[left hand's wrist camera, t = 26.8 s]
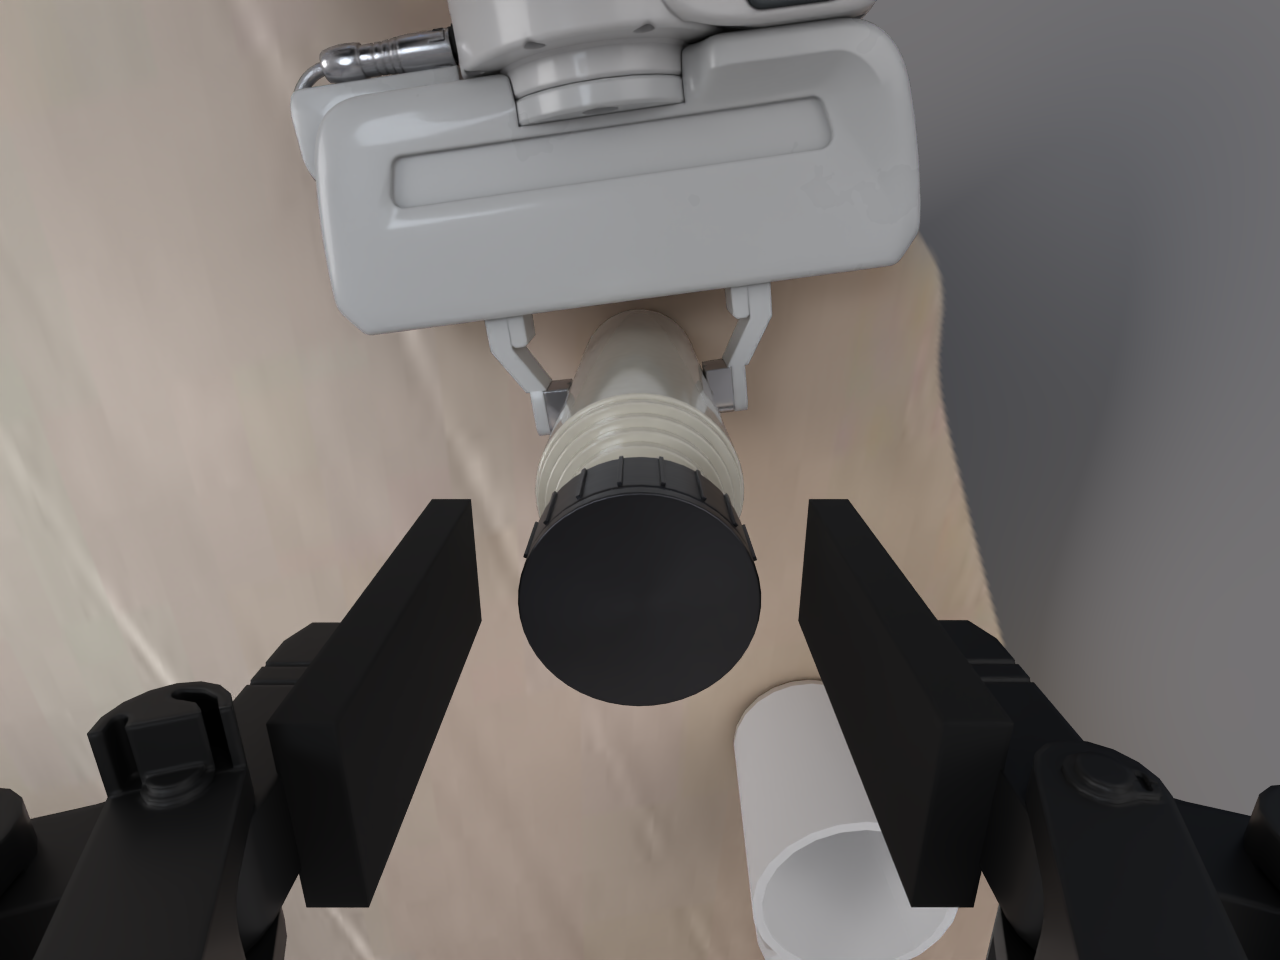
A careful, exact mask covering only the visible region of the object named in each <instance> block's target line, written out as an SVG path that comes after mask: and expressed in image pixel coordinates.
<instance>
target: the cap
mask: <svg viewBox="0 0 1280 960" xmlns="http://www.w3.org/2000/svg"><path fill="white" fill-rule="evenodd" d="M523 557H524V558H527V559H526V562H525V565H524V568H523V571H522V574H521V578H520V584H519V589H518V607H519V615H520V620H521V623H522V627H523V630H524V633H525V635H526V637H527V640H528V642H529V644H530V646H531V647H532V649H533V651H534V652H535V654H536V656H537V657H538V658H539V659H540V661H541V662H542V663H543V664H544V665H545V667H546V668H547V669H548V670H549V671H551V672H552V673H553V674H554V675H555V676H556V677H557V678H558V679H560V680H561V681H563V682H564V683H565V684H567V685H568V686H570V687H572V688H573V689H575V690H577V691H579V692H580V693H583V694H585V695H587V696H590V697H592V698H595V699H598V700H602V701H605V702H608V703H614V704H620V705H629V706H652V705H659V704H666V703H670V702H674V701H678V700H682V699H684V698H687V697H689V696H692V695H694V694H697V693H699V692H700V691H702V690H704V689H706V688H708V687H710V686H711V685H712V684H714V683H715V682H717V681H718V680H720V679H721V678H722V677H723V676H724V675H725V674H727V673H728V672H729V671H730V670H731V669H732V668H733V667H734V666H735V664H736V663H737V662H738V661H739V660H740V659H741V657H742V656H743V654H744V653H745V651H746V650H747V648H748V646H749V644H750V642H751V640H752V638H753V636H754V634H755V631H756V627H757V624H758V621H759V615H760V609H761V589H760V582H759V577H758V573H757V570H756V567H755V563H754V561H756V560H757V559H756V556H755V553H754V550H753V547H752V544H751V541H750V538H749V535H748V532H747V529H746V527H745V524H744V525H742V524H741V522H740V519H739V517H738V515H737V513H736V511H735V509H734V508H733V506H732V504H731V501H730V498H729V495H728V494H727V493H726V494H723V493H722V492H721V490H720V489H719V488H718V487H716V486H715V485H714V484H713V483H712V482H711V481H710V480H708V479H707V478H705V477H704V476H702V475H701V472H700V471H699V470H698V469H697V470H696V471H694V470H692V469H690V468H688V467H686V466H684V465H681V464H678V463H675V462H672V461H668V460H664V458H663V457H661V456H659V458H650V457H628V458H624V457H623V456H619V459H615V460H611V461H608V462H604V463H601V464H598V465H596V466H594V467H591V468H589V469H586V468H584V469H582V471H581V473H580V474H578V475H577V476H575V477H574V478H572V479H571V480H570V481H569V482H567V483H566V484H565V485H564V486H563V487H562V488H561V489H560V490H559V491H558V492H556V491H554V492H553V493H552V496H551V499H550V502H549V503H548V505H547V506H546V508H545V510H544V512H543V514H542V516H541V518H540V520H539V523H538V522H535V524H534V527H533V530H532V533H531V536H530V539H529V542H528V545H527V548H526V551H525V553H524V556H523Z"/></svg>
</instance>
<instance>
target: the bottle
mask: <svg viewBox="0 0 1280 960" xmlns="http://www.w3.org/2000/svg"><path fill="white" fill-rule="evenodd" d="M619 456H623V457H624V458H628V457H650V458H659V456H661V457H663V458H664V460H668V461H672V462H675V463H678V464H681V465H684V466H686V467H688V468H690V469H692V470H694V471H696V470H697V469H698V470H699V471H700V472H701V475H702V476H704V477H705V478H707V479H708V480H710V481H711V482H712V483H713V484H714V485H715V486H716V487H718V488H719V489H720V490H721V492H722V493H723V494H726V493H727V494H728V495H729V498H730V501H731V504H732V506H733V508H734V509H735V511H736V513H737V515H738V517H739V518H740V515H741V512H742V506H743V501H744V481H743V473H742V469H741V465H740V461H739V459H738V456H737V454H736V451H735V449H734V447H733V444H732V442H731V439H730V437H729V434H728V432H727V430H726V427H725V425H724V422H723V420H722V417H721V415H720V413H719V410H718V408H717V405H716V403H715V400H714V398H713V395H712V393H711V391H710V388H709V386H708V383H707V381H706V378H705V376H704V374H703V371H702V369H701V366H700V364H699V361H698V359H697V357H696V354H695V352H694V349H693V347H692V344H691V342H690V340H689V338H688V336H687V335H686V333H685V332H684V331H683V329H682V328H681V327H680V326H679V325H678V324H677V323H676V322H674V321H673V320H672V319H670V318H669V317H667V316H665V315H663V314H660V313H658V312H654V311H651V310H643V309H641V310H629V311H625V312H622V313H619V314H617V315H614V316H612V317H611V318H609V319H608V320H606V321H605V322H604V323H603V324H601V325H600V327H599V328H598V329H597V330H596V331H595V332H594V334H593V335H592V337H591V339H590V341H589V343H588V345H587V348H586V350H585V352H584V355H583V357H582V360H581V362H580V364H579V367H578V369H577V372H576V374H575V377H574V379H573V381H572V384H571V386H570V389H569V391H568V394H567V396H566V398H565V401H564V403H563V406H562V408H561V411H560V413H559V415H558V418H557V420H556V423H555V425H554V427H553V430H552V432H551V435H550V437H549V440H548V442H547V444H546V447H545V449H544V452H543V454H542V457H541V460H540V463H539V466H538V470H537V475H536V485H535V496H536V505H537V510H538V514H539V518H541V516H542V514H543V512H544V510H545V508H546V506H547V505H548V503H549V502H550V499H551V496H552V493H553V492H554V491H556V492H558V491H559V490H560V489H561V488H562V487H563V486H564V485H565V484H566V483H567V482H569V481H570V480H571V479H572V478H574V477H575V476H577V475H578V474H580V473H581V471H582V469H584V468H586V469H589V468H591V467H594V466H596V465H598V464H601V463H604V462H608V461H611V460H615V459H619Z"/></svg>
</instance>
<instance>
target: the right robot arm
mask: <svg viewBox="0 0 1280 960" xmlns="http://www.w3.org/2000/svg"><path fill="white" fill-rule="evenodd" d="M447 2H448V7H449V13H450V15H451V20H452V23H451V27H447V28H438V29H433V30H429V31H423V32H416V33H410V34H405V35H401V36H398V37H394V38H391V39H389V40H388V39H387V40H384V41H382V42H375V43H374V44H373V43H369V44H364V45H361V44H360V43H355V42H353V43H344V44H338V45H335V46H332V47H329V48H327V49H325V50H323V51H321V53H320V62H319V63H316V64H315V65H313V66H312V67H310V68H309V69H307V70H306V71H305V72H304V73H303V75H302V76H301V77H300V79H299V81H298V83H297V84H296V87H295V89H294V92H293V94H292V96H291V102H290V109H291V117H292V121H293V124H294V128H295V132H296V136H297V139H298V143H299V147H300V151H301V154H302V158H303V160H304V163H305V165H306V167H307V169H308V171H309V173H310V174H311V176H312V177H313V179H314V180H315V181H316V188H317V199H318V208H319V217H320V224H321V231H322V238H323V245H324V251H325V256H326V262H327V267H328V272H329V277H330V282H331V286H332V291H333V295H334V299H335V302H336V305H337V308H338V309H339V311H340V312H341V314H342V315H343V316H344V317H346V318H347V319H348V320H349V321H350V322H351V323H352V324H353V325H355V326H356V327H357V328H358V329H359V330H361V331H362V332H363V333H364V334H367V335H378V334H386V333H393V332H401V331H408V330H416V329H423V328H431V327H438V326H446V325H453V324H460V323H468V322H475V321H483V320H484V321H485V325H486V330H487V335H488V340H489V345H490V350H491V353H492V354H493V355H494V356H495V357H496V358H497V360H498V361H499V362H500V363H501V364H502V365H503V367H504V368H505V369H506V370H507V371H508V372H509V374H510V375H511V376H512V377H513V378H514V379H515V380H516V382H517V383H518V384H519V385H520V386H521V387H522V389H523V390H524V391H525V392H526V393H530V397H531V402H532V407H533V413H534V418H535V423H536V428H537V432H538V434H539V435H540V436H541V435H551V432H552V430H553V427H554V425H555V423H556V420H557V418H558V415H559V413H560V411H561V408H562V406H563V403H564V401H565V398H566V396H567V394H568V391H569V389H570V386H571V384H572V381H573V379H564V380H554V381H552V379H551V378H550V376H549V375H548V374H547V373H546V371H545V370H544V369H543V367H542V366H541V365H540V364H539V362H538V361H537V360H536V359H535V357H534V356H533V355H532V353H531V352H530V351H529V350H528V348H527V347H526V345H527V344H528V343H529V342H530V341H531V340H532V338H533V337H534V336H535V335H536V334H535V329H534V323H533V317H532V314H535V313H542V312H550V311H557V310H565V309H572V308H580V307H587V306H595V305H602V304H610V303H617V302H625V301H632V300H639V299H647V298H654V297H662V296H669V295H677V294H684V293H692V292H699V291H707V290H714V289H722V288H725V296H726V306H727V310H728V311H729V312H730V313H731V314H732V315H733V316H734V317H735V318H737V319H739V320H738V322H737V325H736V327H735V329H734V331H733V334H732V336H731V338H730V340H729V343H728V345H727V347H726V350H725V352H724V354H723V356H722V358H723V359H717V360H710V361H704V362H702V369H703V374H704V376H705V378H706V381H707V383H708V386H709V388H710V391H711V393H712V395H713V398H714V400H715V403H716V405H717V408H718V410H719V413H724V412H733V411H741V410H747V408H748V398H747V385H746V373H745V365H748V364H749V362H750V360H751V358H752V356H753V354H754V352H755V350H756V348H757V345H758V343H759V341H760V339H761V337H762V335H763V333H764V331H765V329H766V327H767V325H768V323H769V321H770V319H771V317H772V303H771V286H770V282H774V281H781V280H789V279H796V278H804V277H811V276H818V275H826V274H833V273H841V272H848V271H856V270H863V269H871V268H878V267H885V266H891V265H894V264H896V263H897V262H898V261H899V260H900V259H901V258H902V256H903V255H904V254H905V252H906V251H907V249H908V248H909V246H910V245H911V243H912V242H913V240H914V238H915V237H916V235H917V233H918V230H919V226H920V211H921V193H920V167H919V153H918V141H917V131H916V121H915V114H914V107H913V99H912V92H911V86H910V81H909V76H908V72H907V68H906V65H905V62H904V60H903V57H902V54H901V53H900V51H899V49H898V47H897V45H896V44H895V42H894V41H893V39H892V38H891V37H890V36H889V35H888V34H887V33H886V32H885V31H884V30H883V29H881V28H880V27H879V26H877V25H875V24H873V23H871V22H869V21H866V20H862V18H863V17H864V16H865V15H866V14H867V12H868V11H869V10H870V9H871V8H872V6H873V5H874V3H875V2H876V0H447ZM382 75H383V77H380V76H382ZM385 75H390V76H385ZM324 76H325V77H326V79H327V80H328V81H329V82H330V83H335V84H330V85H323V86H317V87H312V86H313V85H314V84H315V83H316V82H317V81H318V80H319V79H321V78H322V77H324ZM373 77H376V78H373Z"/></svg>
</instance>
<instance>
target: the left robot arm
mask: <svg viewBox="0 0 1280 960" xmlns="http://www.w3.org/2000/svg"><path fill="white" fill-rule="evenodd" d="M481 621H482V619H481V608H480V597H479V585H478V574H477V563H476V551H475V540H474V529H473V518H472V506H471V499H432V500H431V501H430V503H429V504H428V505H427V507H426V508H425V509H424V511H423V512H422V514H421V515H420V516H419V518H418V519H417V520H416V522H415V523H414V524H413V526H412V527H411V528H410V530H409V531H408V532H407V534H406V535H405V536H404V538H403V539H402V541H401V542H400V543H399V545H398V546H397V547H396V549H395V550H394V551H393V553H392V554H391V555H390V557H389V558H388V559H387V561H386V562H385V563H384V565H383V566H382V568H381V569H380V570H379V572H378V573H377V574H376V576H375V577H374V578H373V580H372V581H371V582H370V584H369V585H368V586H367V588H366V589H365V590H364V592H363V593H362V595H361V596H360V597H359V599H358V600H357V601H356V603H355V604H354V605H353V607H352V608H351V609H350V611H349V612H348V613H347V615H346V616H345V617H344V619H343V620H342V622H341V623H311V624H310V625H308V626H306V627H305V628H303V629H302V630H300V631H299V632H297V633H295V634H294V635H292V636H291V637H289V638H288V639H286V640H285V641H283V643H282V644H281V645H280V646H279V647H278V649H277V650H276V651H275V652H274V653H273V654H272V656H271V657H270V658H269V659H268V660H267V662H266V666H265V667H261V669H260V670H259V671H258V672H257V673H256V675H255V676H254V677H253V678H252V679H251V683H250V685H246V686H245V688H244V689H243V690H242V691H241V692H240V694H239V695H238V696H237V697H236V698H235V700H234V701H232V697H231V693H230V692H228V691H227V690H226V689H224V688H223V687H222V686H221V685H218V684H212V683H207V682H202V681H200V682H187V683H176V684H173V685H169V686H165V687H161V688H157V689H154V690H150V691H148V692H145V693H143V694H141V695H139V696H136V697H134V698H132V699H130V700H127V701H125V702H123V703H122V704H120V705H119V706H117V707H116V708H114V709H113V710H111V711H110V712H108V713H107V714H105V715H104V716H102V717H101V718H100V719H99V720H98V722H97V723H96V724H95V725H94V726H93V727H92V729H91V730H90V731H89V732H88V733H87V736H88V739H89V742H90V745H91V748H92V751H93V754H94V757H95V760H96V763H97V766H98V769H99V772H100V775H101V778H102V781H103V784H104V787H105V790H106V793H107V796H108V798H107V800H106V802H103V803H99V804H96V805H91V806H87V807H82V808H78V809H73V810H69V811H65V812H60V813H56V814H51V815H47V816H42V817H38V818H33V819H30V817H29V815H28V812H27V810H26V807H25V804H24V802H23V799H22V797H20V796H19V795H18V794H16V793H15V792H14V791H12V790H11V789H5V788H0V960H284V955H285V947H286V939H287V934H286V926H285V919H284V915H283V911H282V905H283V903H284V901H285V899H286V897H287V895H288V893H289V891H290V889H291V887H292V886H293V884H294V882H295V880H296V878H297V876H298V874H299V876H300V880H301V885H302V889H303V894H304V898H305V903H306V907H369V906H370V903H371V901H372V898H373V895H374V893H375V890H376V888H377V885H378V883H379V880H380V878H381V875H382V873H383V870H384V868H385V865H386V862H387V860H388V857H389V855H390V852H391V850H392V847H393V845H394V842H395V840H396V837H397V834H398V832H399V829H400V827H401V824H402V822H403V819H404V817H405V814H406V812H407V809H408V807H409V804H410V801H411V799H412V796H413V794H414V791H415V789H416V786H417V784H418V781H419V779H420V776H421V774H422V771H423V768H424V766H425V763H426V761H427V758H428V756H429V753H430V751H431V748H432V746H433V743H434V741H435V738H436V735H437V733H438V730H439V728H440V725H441V723H442V720H443V718H444V715H445V713H446V710H447V708H448V705H449V702H450V700H451V697H452V695H453V692H454V690H455V687H456V685H457V682H458V680H459V677H460V674H461V672H462V669H463V667H464V664H465V662H466V659H467V657H468V654H469V652H470V649H471V647H472V644H473V641H474V639H475V636H476V634H477V631H478V629H479V626H480V624H481ZM798 621H799V624H800V626H801V629H802V631H803V634H804V636H805V639H806V641H807V644H808V647H809V649H810V652H811V654H812V657H813V659H814V662H815V664H816V667H817V669H818V672H819V674H820V677H821V680H822V682H823V685H824V687H825V690H826V692H827V695H828V697H829V700H830V702H831V705H832V708H833V710H834V713H835V715H836V718H837V720H838V723H839V725H840V728H841V730H842V733H843V735H844V738H845V741H846V743H847V746H848V748H849V751H850V753H851V756H852V758H853V761H854V763H855V766H856V768H857V771H858V774H859V776H860V779H861V781H862V784H863V786H864V789H865V791H866V794H867V796H868V799H869V801H870V804H871V807H872V809H873V812H874V814H875V817H876V819H877V822H878V824H879V827H880V829H881V832H882V834H883V837H884V840H885V842H886V845H887V847H888V850H889V852H890V855H891V857H892V860H893V862H894V865H895V868H896V870H897V873H898V875H899V878H900V880H901V883H902V885H903V888H904V890H905V893H906V895H907V898H908V901H909V903H910V906H911V907H974V903H975V898H976V894H977V889H978V885H979V880H980V876H981V871H982V872H983V874H984V876H985V878H986V880H987V882H988V884H989V886H990V888H991V889H992V891H993V893H994V895H995V897H996V899H997V901H998V903H999V906H998V911H997V915H996V919H995V923H994V927H993V932H992V936H991V940H990V944H989V948H988V953H987V957H986V960H1280V785H1274V786H1270V787H1269V788H1267V789H1266V790H1265V791H1263V792H1262V793H1260V794H1259V797H1258V799H1257V802H1256V804H1255V807H1254V810H1253V812H1252V815H1251V816H1248V815H1244V814H1239V813H1235V812H1230V811H1225V810H1221V809H1217V808H1212V807H1207V806H1203V805H1198V804H1194V803H1190V802H1185V801H1181V800H1178V799H1175V798H1173V796H1172V795H1171V794H1170V792H1169V791H1168V790H1167V788H1166V787H1165V786H1164V784H1163V783H1162V781H1161V780H1160V779H1159V778H1158V777H1157V776H1156V775H1154V774H1153V773H1152V772H1150V771H1149V770H1148V769H1147V768H1145V767H1144V766H1143V765H1141V764H1140V763H1139V762H1137V761H1135V760H1133V759H1131V758H1129V757H1127V756H1125V755H1123V754H1121V753H1119V752H1118V751H1116V750H1113V749H1110V748H1107V747H1104V746H1100V745H1097V744H1094V743H1091V742H1086V741H1083V740H1082V739H1081V737H1080V736H1079V735H1078V734H1077V733H1076V732H1075V730H1074V729H1073V728H1072V727H1071V726H1070V724H1069V723H1068V722H1067V721H1066V720H1065V719H1064V717H1063V716H1062V715H1061V714H1060V713H1059V712H1058V710H1057V709H1056V708H1055V707H1054V706H1053V704H1052V703H1051V702H1050V701H1049V700H1048V699H1047V697H1046V696H1045V695H1044V694H1043V693H1042V691H1041V690H1040V689H1039V688H1038V687H1037V686H1036V684H1035V683H1033V682H1030V677H1029V676H1028V675H1027V674H1026V673H1025V671H1024V670H1023V669H1022V668H1021V667H1020V666H1019V665H1018V664H1015V660H1014V659H1013V657H1012V656H1011V655H1010V654H1009V653H1008V651H1007V650H1006V649H1005V648H1004V647H1003V646H1002V644H1001V643H1000V642H999V641H998V640H997V639H996V638H995V637H993V636H992V635H990V634H989V633H987V632H985V631H984V630H982V629H981V628H979V627H978V626H976V625H975V624H973V623H971V622H970V621H968V620H937V619H936V617H935V616H934V615H933V613H932V612H931V611H930V609H929V608H928V607H927V605H926V604H925V603H924V601H923V600H922V599H921V597H920V596H919V595H918V593H917V592H916V590H915V589H914V588H913V586H912V585H911V584H910V582H909V581H908V580H907V578H906V577H905V576H904V574H903V573H902V572H901V570H900V569H899V568H898V566H897V565H896V563H895V562H894V561H893V559H892V558H891V557H890V555H889V554H888V553H887V551H886V550H885V549H884V547H883V546H882V545H881V543H880V542H879V541H878V539H877V538H876V536H875V535H874V534H873V532H872V531H871V530H870V528H869V527H868V526H867V524H866V523H865V522H864V520H863V519H862V518H861V516H860V515H859V514H858V512H857V511H856V509H855V508H854V507H853V505H852V504H851V503H850V501H849V500H848V499H809V506H808V518H807V529H806V540H805V551H804V563H803V574H802V585H801V597H800V608H799V619H798Z"/></svg>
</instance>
